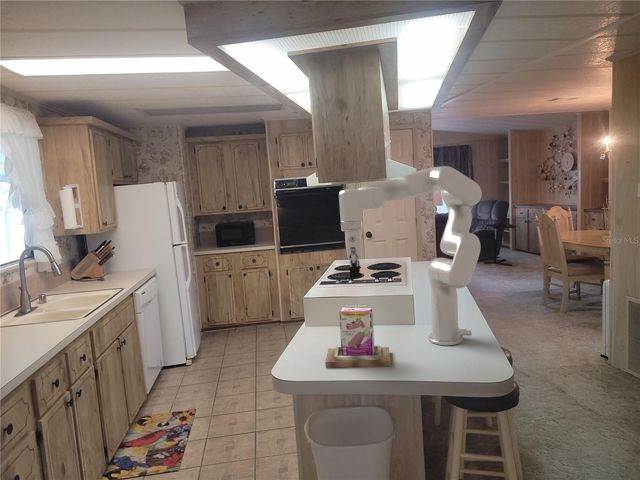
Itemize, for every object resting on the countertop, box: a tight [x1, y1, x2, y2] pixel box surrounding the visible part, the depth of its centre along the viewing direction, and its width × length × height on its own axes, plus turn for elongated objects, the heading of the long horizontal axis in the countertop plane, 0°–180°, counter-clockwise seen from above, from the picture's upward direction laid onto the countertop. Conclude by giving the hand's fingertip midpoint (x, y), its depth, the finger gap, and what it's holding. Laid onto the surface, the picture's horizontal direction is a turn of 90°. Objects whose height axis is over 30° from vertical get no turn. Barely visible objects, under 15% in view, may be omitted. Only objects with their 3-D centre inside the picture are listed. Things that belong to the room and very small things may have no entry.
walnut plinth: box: [324, 344, 392, 369], centre depth 152 cm, size 22×12×3 cm, turn 84°
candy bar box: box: [339, 307, 375, 356], centre depth 150 cm, size 11×5×16 cm, turn 77°
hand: (355, 274), depth 149 cm, fingers open, 9 cm apart
